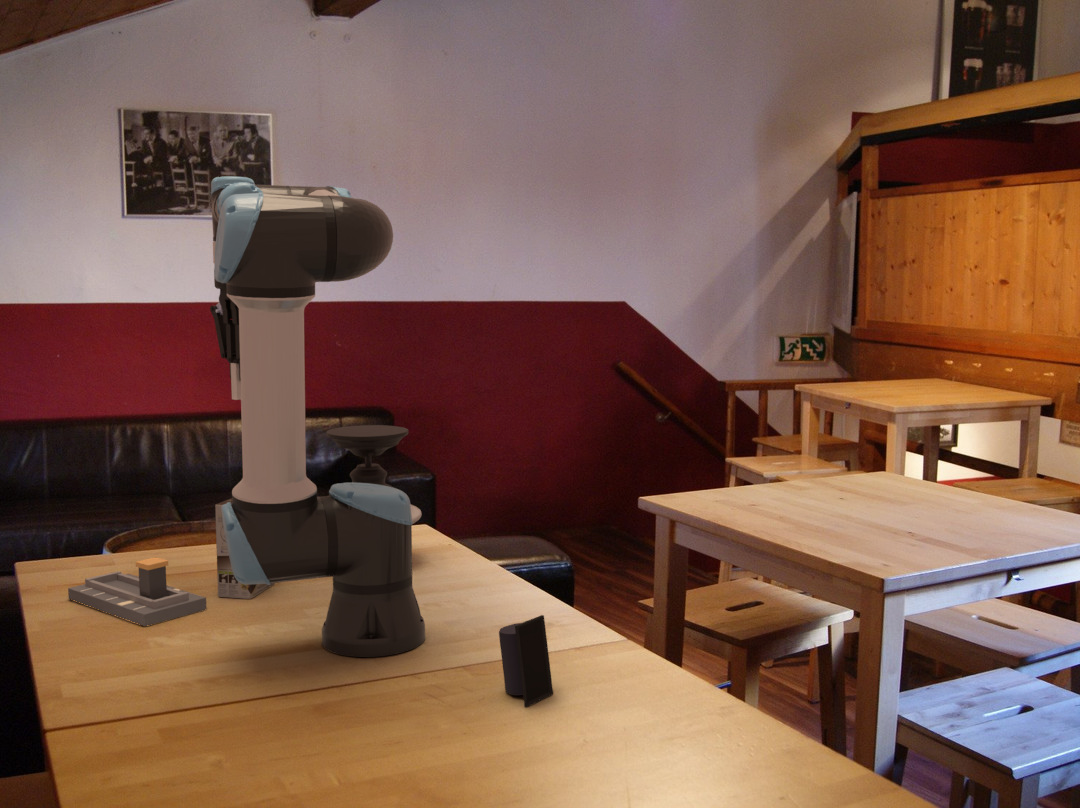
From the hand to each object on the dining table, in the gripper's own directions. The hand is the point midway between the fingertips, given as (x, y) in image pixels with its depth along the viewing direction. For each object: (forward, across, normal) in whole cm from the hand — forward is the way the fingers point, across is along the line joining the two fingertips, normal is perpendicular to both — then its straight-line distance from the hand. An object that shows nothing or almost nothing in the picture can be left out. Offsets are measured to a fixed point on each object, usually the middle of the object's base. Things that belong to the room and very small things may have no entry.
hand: (240, 398), depth 187 cm
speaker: (+32, -75, +14) cm, 83 cm away
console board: (+32, -1, +23) cm, 39 cm away
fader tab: (+30, -6, +23) cm, 38 cm away
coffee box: (+32, -9, +7) cm, 34 cm away
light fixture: (+32, -13, -18) cm, 39 cm away
